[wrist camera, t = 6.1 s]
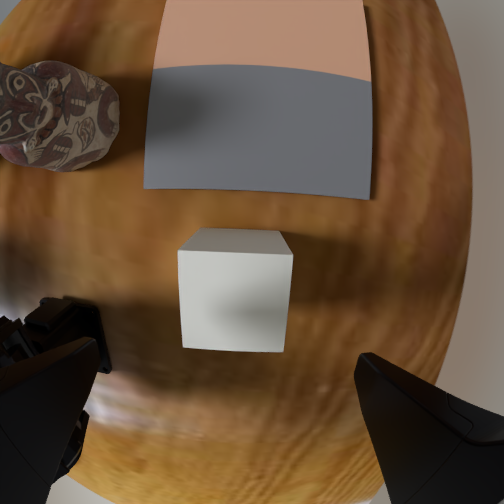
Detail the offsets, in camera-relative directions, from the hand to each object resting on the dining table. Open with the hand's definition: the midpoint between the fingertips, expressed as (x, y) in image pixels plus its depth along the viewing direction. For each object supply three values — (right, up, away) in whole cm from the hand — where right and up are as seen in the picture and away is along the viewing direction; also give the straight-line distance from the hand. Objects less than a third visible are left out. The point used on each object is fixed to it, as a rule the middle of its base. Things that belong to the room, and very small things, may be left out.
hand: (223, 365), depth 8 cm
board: (+2, +15, +7) cm, 17 cm away
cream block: (0, +3, +10) cm, 10 cm away
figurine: (-11, +13, +8) cm, 19 cm away
